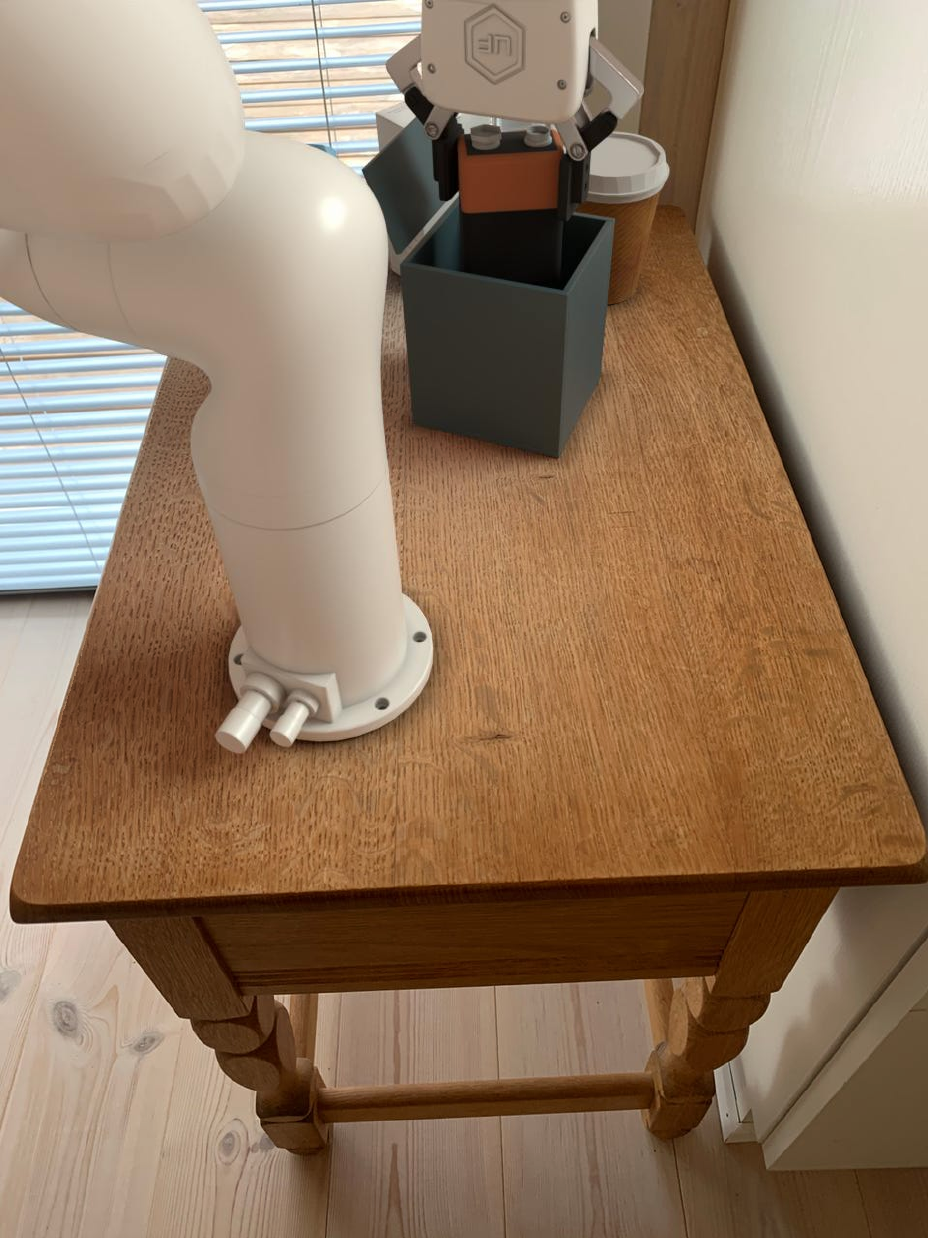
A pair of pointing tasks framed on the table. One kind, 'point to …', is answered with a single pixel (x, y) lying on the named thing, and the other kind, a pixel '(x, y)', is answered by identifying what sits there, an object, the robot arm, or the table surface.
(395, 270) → the cosmetic box
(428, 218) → the flap
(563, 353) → the carton
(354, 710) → the robot arm
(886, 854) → the table surface
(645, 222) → the disposable coffee cup
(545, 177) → the battery
